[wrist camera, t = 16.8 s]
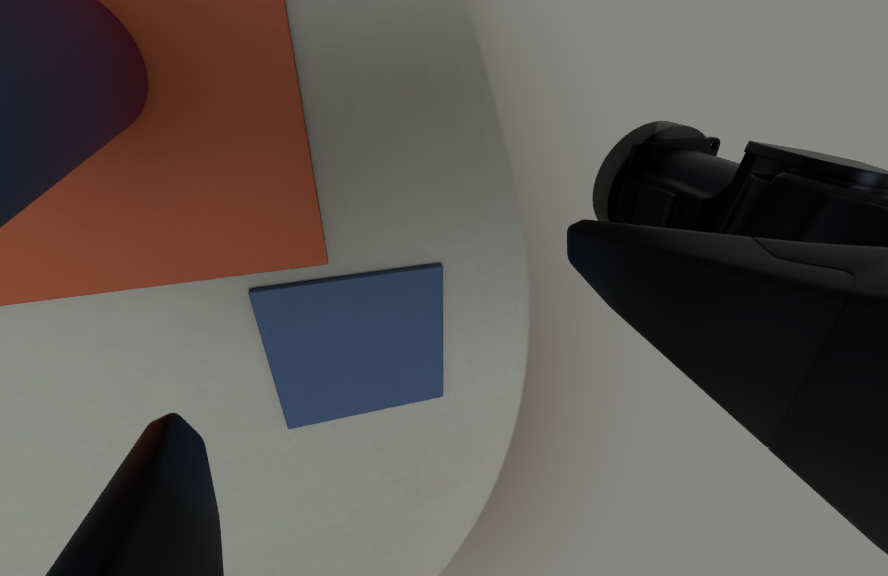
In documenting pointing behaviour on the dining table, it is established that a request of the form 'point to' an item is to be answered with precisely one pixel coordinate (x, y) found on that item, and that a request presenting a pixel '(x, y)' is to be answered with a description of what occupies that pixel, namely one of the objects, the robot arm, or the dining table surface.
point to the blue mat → (353, 342)
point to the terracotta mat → (182, 166)
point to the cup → (61, 92)
